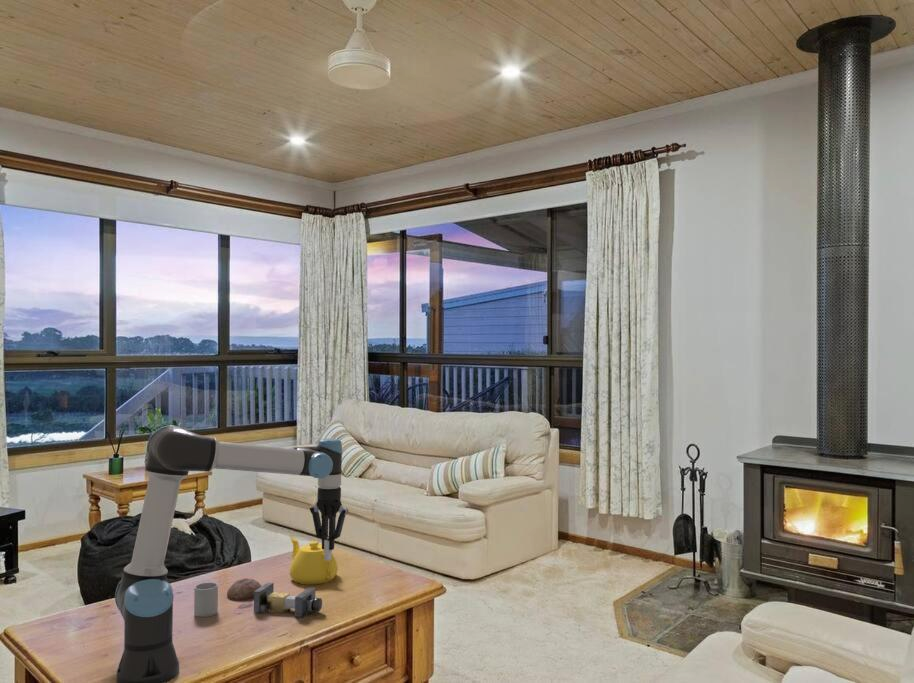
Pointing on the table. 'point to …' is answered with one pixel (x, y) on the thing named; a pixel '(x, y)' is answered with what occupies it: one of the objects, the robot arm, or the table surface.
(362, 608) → the table surface
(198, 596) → the cup
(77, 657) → the table surface
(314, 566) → the teapot
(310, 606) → the shaft
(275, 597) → the block
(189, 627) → the table surface
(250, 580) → the decorative stone
